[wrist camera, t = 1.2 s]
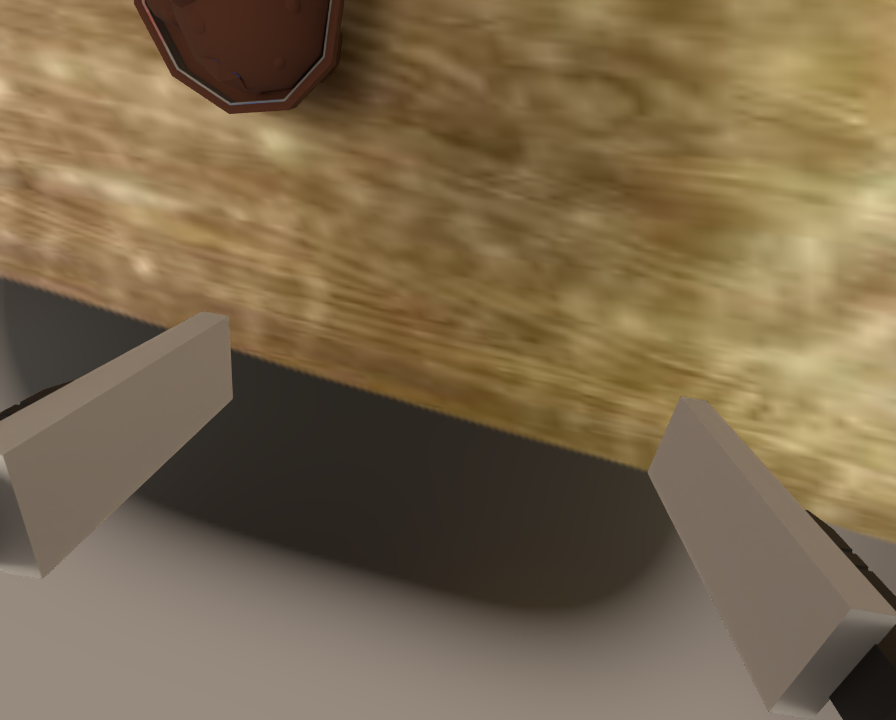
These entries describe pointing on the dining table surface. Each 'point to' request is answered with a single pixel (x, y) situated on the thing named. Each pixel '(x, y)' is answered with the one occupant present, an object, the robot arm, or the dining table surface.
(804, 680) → the robot arm
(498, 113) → the dining table surface
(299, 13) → the ice cream bowl
